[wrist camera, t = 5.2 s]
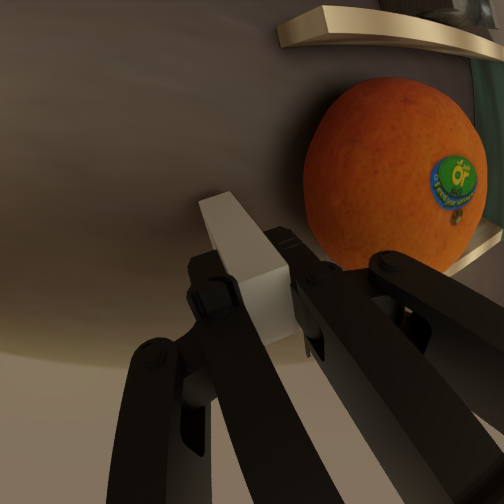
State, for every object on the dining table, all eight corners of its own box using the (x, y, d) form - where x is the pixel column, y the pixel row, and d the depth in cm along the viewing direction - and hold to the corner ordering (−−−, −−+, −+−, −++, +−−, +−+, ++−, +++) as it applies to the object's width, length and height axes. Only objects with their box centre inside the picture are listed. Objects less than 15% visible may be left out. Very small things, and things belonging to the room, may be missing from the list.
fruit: (410, 216, 20) (489, 269, 13) (291, 263, 18) (361, 354, 12) (406, 75, 14) (512, 91, 8) (257, 88, 13) (360, 83, 6)
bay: (318, 291, 20) (365, 349, 15) (275, 27, 11) (345, -4, 6) (473, 216, 23) (516, 243, 18) (474, 47, 14) (530, 55, 9)
